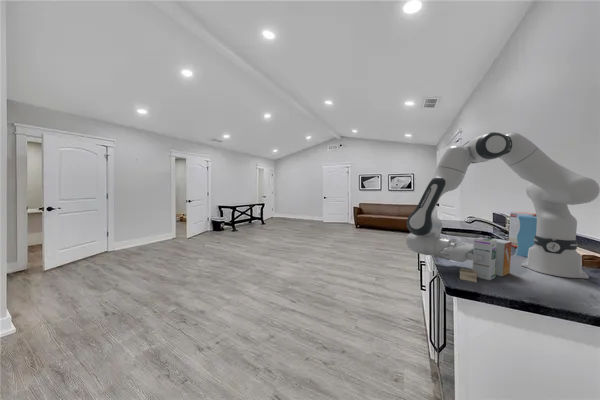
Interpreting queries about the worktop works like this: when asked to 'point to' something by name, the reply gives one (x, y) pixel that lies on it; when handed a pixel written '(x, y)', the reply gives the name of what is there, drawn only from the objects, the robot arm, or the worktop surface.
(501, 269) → the small box
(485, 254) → the syrup box
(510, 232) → the cracker box
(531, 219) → the vase
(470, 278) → the maple block
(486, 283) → the worktop surface
